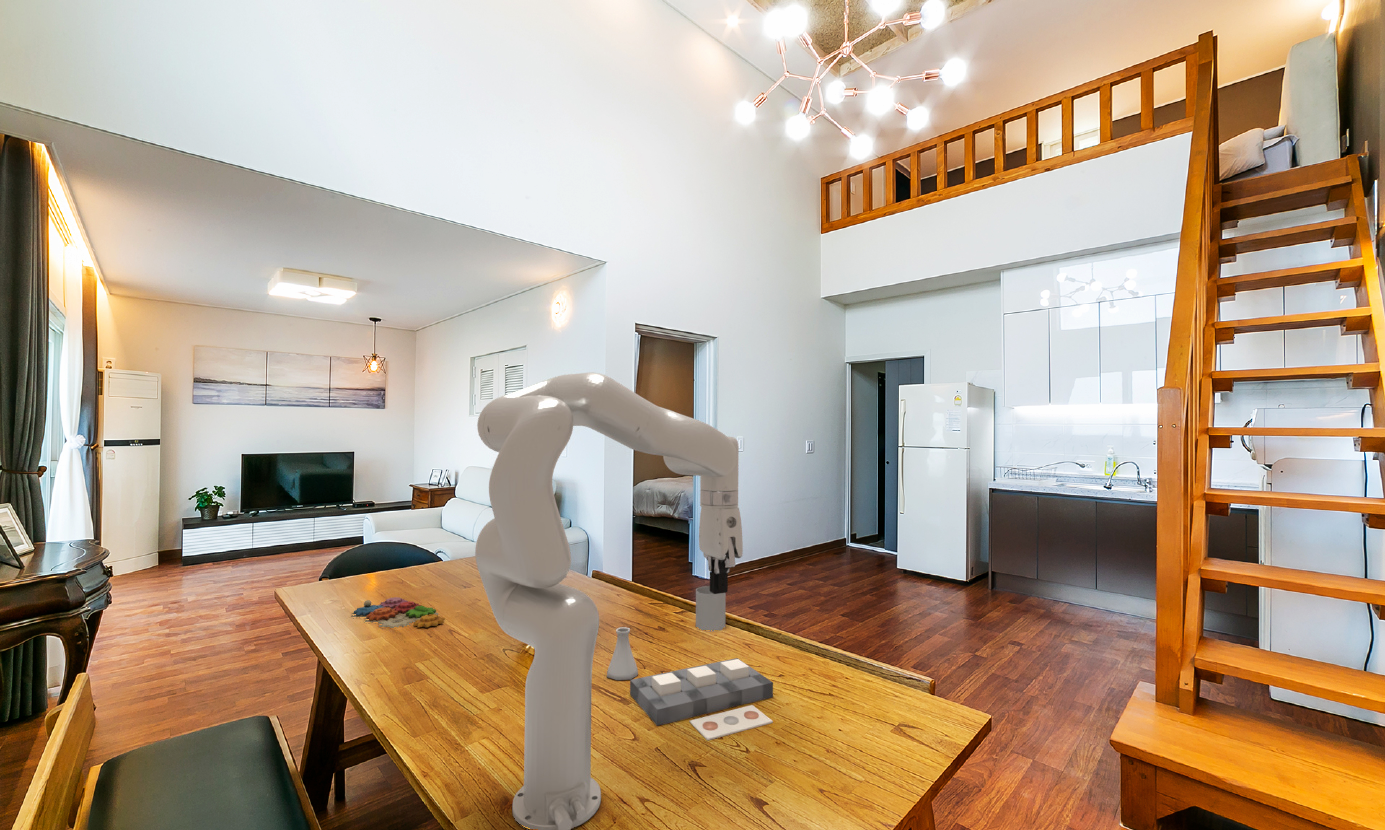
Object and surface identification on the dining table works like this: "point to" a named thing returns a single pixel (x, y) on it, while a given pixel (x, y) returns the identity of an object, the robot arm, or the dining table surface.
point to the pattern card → (730, 722)
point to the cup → (710, 609)
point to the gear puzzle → (399, 613)
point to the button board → (699, 695)
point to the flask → (622, 658)
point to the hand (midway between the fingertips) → (718, 592)
